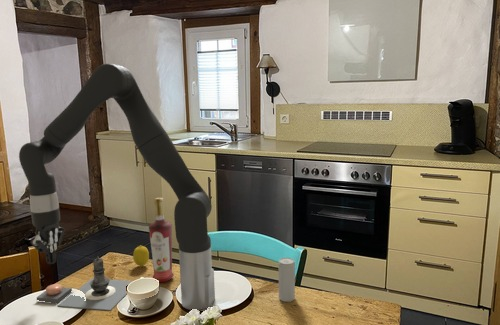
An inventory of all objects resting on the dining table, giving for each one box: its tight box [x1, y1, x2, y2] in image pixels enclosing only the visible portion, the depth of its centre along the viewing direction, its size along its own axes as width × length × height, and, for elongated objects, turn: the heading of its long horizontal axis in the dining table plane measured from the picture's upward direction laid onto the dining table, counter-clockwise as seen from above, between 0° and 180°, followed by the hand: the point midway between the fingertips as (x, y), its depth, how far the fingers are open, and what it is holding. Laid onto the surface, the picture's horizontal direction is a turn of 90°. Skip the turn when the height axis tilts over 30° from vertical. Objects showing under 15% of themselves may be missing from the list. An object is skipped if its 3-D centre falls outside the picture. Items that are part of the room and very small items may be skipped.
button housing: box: [36, 286, 73, 305], centre depth 123 cm, size 7×7×2 cm
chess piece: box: [90, 255, 111, 297], centre depth 123 cm, size 6×6×12 cm
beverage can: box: [278, 257, 296, 303], centre depth 118 cm, size 5×5×12 cm
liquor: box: [148, 197, 175, 284], centre depth 131 cm, size 7×7×28 cm
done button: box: [45, 283, 63, 295], centre depth 122 cm, size 4×4×3 cm
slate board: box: [57, 277, 133, 312], centre depth 124 cm, size 17×18×1 cm
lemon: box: [132, 245, 150, 268], centre depth 143 cm, size 6×6×8 cm
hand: (51, 262), depth 121 cm, fingers closed
